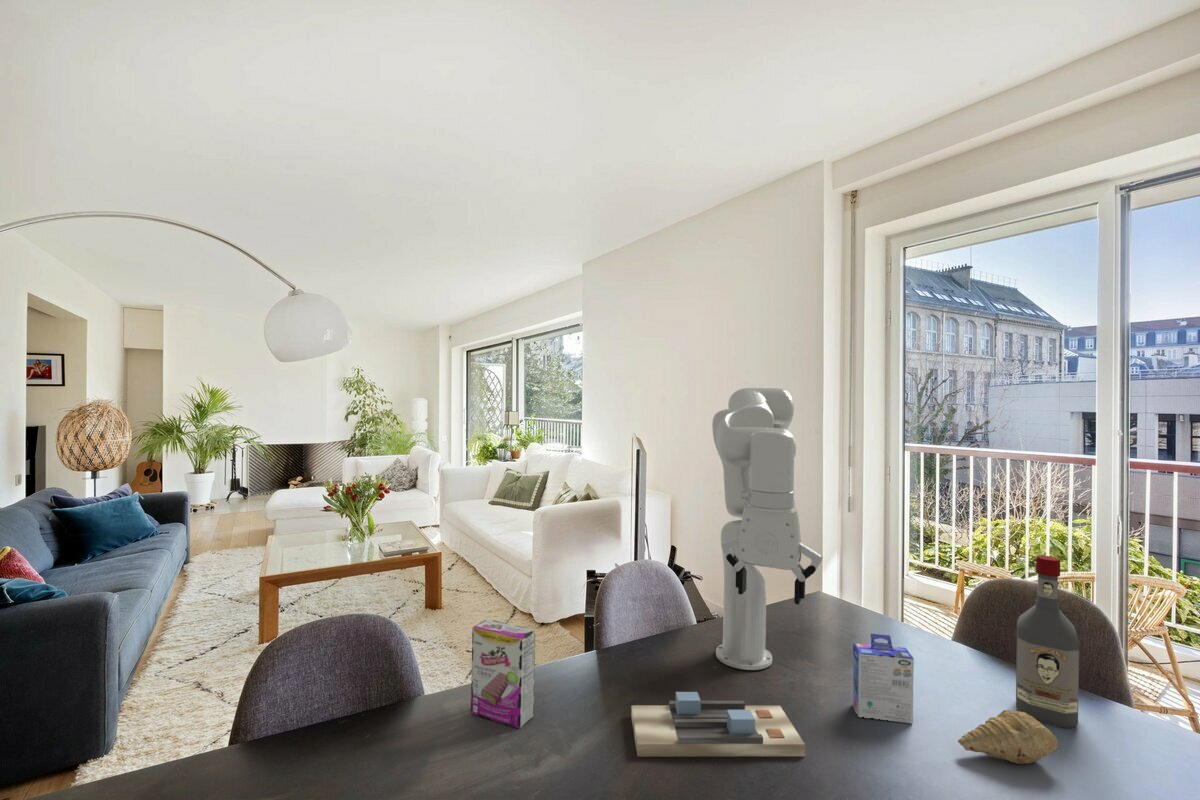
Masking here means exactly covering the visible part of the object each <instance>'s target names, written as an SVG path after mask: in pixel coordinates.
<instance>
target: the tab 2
mask: <svg viewBox="0 0 1200 800" xmlns="http://www.w3.org/2000/svg"><path fill="white" fill-rule="evenodd" d="M727 729H728V731H729V733H730V734H755V718H754V716H753V715H752V713H751V711H750V710H727Z"/></svg>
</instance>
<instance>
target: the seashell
mask: <svg viewBox="0 0 1200 800" xmlns="http://www.w3.org/2000/svg"><path fill="white" fill-rule="evenodd" d="M957 742H958V743H959V744H960V746H962V747H963V748H964V750H966V751H968V752H974V753H982V754H985V755H986V756H989V757H992V758H995V759H1001V760H1004V761H1008V762H1011V763H1016V764H1018V765H1019V764H1022V765H1023V764H1024V763H1025V764H1031V763H1036V762H1037V761H1039V760H1041V759H1042V758H1044V757H1048V756H1049V755H1050V753H1052V752H1053V751H1056V750H1057V749H1058V746H1059V741H1058V739H1057V737H1056V735H1054V733H1052V731H1050V729H1049V728H1047V727H1046V726H1045V725H1044V724H1042V722H1039V721H1037V720H1036V719H1035V718H1033V717H1032V716H1030V715H1028V714H1027V713H1025V712H1019V711H1018V710H1010V709H1007V710H1005V709H1004V710H1003V711H1001V712H1000V713H998V715H997V716H991V717H989V718H988V719H987V720H985V722H984V724H983V723H982V724H979V725H978V726H977V727H975V728H974V729H971V730H970V731H968V732H967V733H966V734H963V735H962V736H961V737H960V738H959V739H958V740H957Z"/></svg>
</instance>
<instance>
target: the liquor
mask: <svg viewBox="0 0 1200 800" xmlns="http://www.w3.org/2000/svg"><path fill="white" fill-rule="evenodd" d="M1035 573H1037V596H1036V597H1037V598H1036V600H1035V604H1034V605H1033V606H1031V607H1030V608H1029V609H1028V610H1025V612H1023V613H1021V614H1020V615H1019V616H1018V619H1017V621H1016V661H1015V662H1016V665H1015V666H1016V670H1015V672H1016V673H1015V674H1016V676H1015V677H1016V678H1015V706H1016V710H1017V711H1019V712H1025V713H1027V714H1028V715H1030V716H1032V717H1033V718H1035V719H1036V720H1037V721H1039V722H1040V723H1043V724H1047V725H1050V726H1053V727H1054V726H1055V727H1057V728H1058V727H1059V728H1061V729H1069V728H1075V727H1076V726H1077V725H1078V723H1079V683H1080V682H1079V680H1080V678H1079V677H1080V675H1079V674H1080V640H1079V637H1078V634H1077V631H1076V629H1075V626H1074V625H1073V624H1072V622H1071V621H1070V619H1068V618H1067V617H1066V615H1065V614H1064V613H1063V612H1062V611H1061V609H1060V605H1059V593H1058V592H1059V579H1058V578H1059V577H1061V559H1060V558H1058V557H1056V556H1049V555H1042V554H1041V555H1036V557H1035Z"/></svg>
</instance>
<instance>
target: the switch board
mask: <svg viewBox="0 0 1200 800" xmlns="http://www.w3.org/2000/svg"><path fill="white" fill-rule="evenodd" d="M675 707H676V700H669V701H668V705H665V704H664V705H660V704H659V705H657V704H656V705H654V704H652V705H650V704H649V705H648V704H647V705H644V704H643V705H641V704H638V705H637V704H636V705H635V704H634V705H631V707H630V709H631V710H630V711H631V713H630V716H631V722H632V723H631V724H632V731H633V736H634V743H635V749H636V755H637V757H805V756H806V744H805V742H804V741H803V739H802V737H801V735H800V734H799V732H797V730H796V728H795V726H794V725H793V724H792V722H791V720H790V719H789V717H788V716H787V714H786V712H785V711H784V710H783V708H782V706H781V705H746V702H745V700H701V712H700V714H677V712H676V708H675ZM727 710H750V711H751V713H752V715H753V716H754V718H755V734H730V733H729V731H728V729H727Z"/></svg>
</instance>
